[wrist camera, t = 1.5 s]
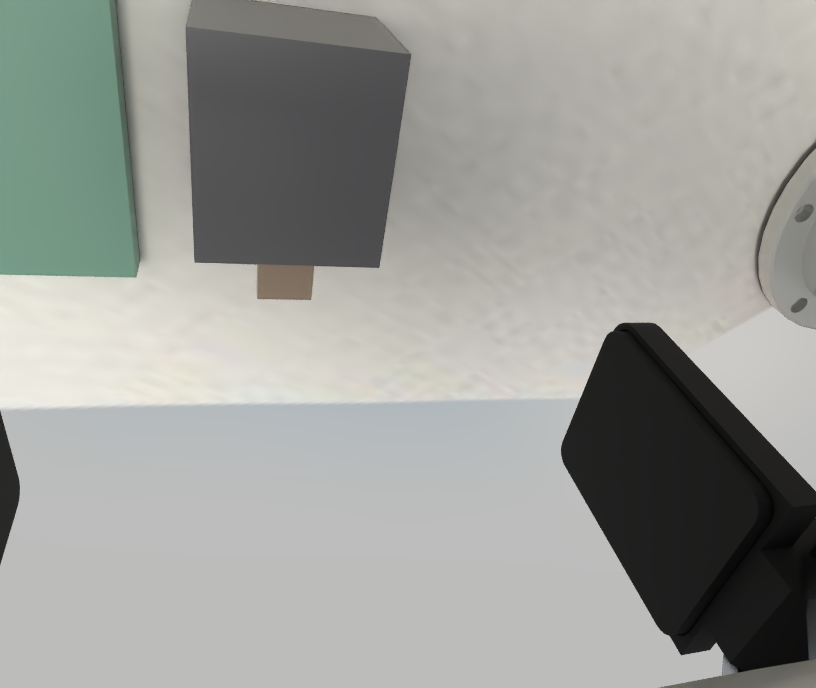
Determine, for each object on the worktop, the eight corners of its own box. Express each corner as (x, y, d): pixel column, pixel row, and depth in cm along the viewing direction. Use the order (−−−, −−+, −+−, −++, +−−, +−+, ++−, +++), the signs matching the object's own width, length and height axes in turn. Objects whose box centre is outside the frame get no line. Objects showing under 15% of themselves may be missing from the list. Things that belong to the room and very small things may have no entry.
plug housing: (376, 17, 21) (411, 54, 17) (348, 249, 25) (371, 319, 22) (193, -8, 19) (185, 26, 15) (201, 243, 24) (196, 318, 20)
